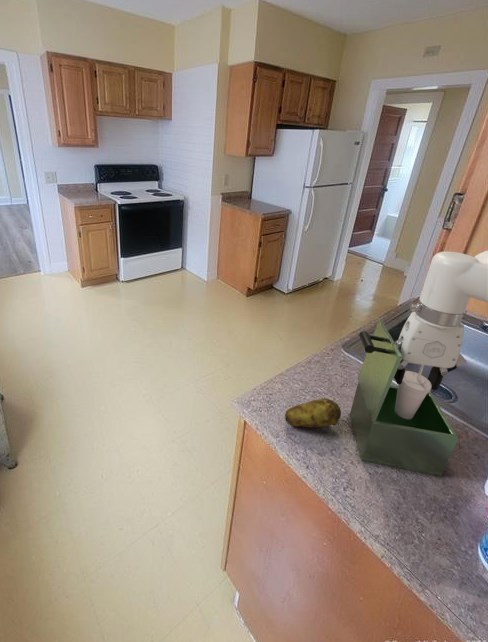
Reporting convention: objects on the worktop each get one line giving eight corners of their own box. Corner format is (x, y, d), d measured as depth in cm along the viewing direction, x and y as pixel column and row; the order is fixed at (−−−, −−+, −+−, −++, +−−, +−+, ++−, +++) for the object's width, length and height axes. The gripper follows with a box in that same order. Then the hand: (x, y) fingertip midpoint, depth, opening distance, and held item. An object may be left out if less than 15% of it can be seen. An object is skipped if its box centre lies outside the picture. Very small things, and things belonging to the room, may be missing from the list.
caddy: (417, 426, 83) (430, 391, 79) (441, 476, 71) (458, 438, 66) (349, 414, 86) (358, 380, 82) (361, 460, 74) (372, 422, 70)
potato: (287, 405, 89) (291, 382, 86) (337, 420, 84) (343, 397, 81) (282, 428, 82) (286, 404, 79) (336, 446, 77) (342, 422, 74)
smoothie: (426, 424, 72) (445, 374, 66) (397, 423, 72) (414, 374, 67) (409, 402, 78) (426, 355, 72) (383, 401, 78) (397, 354, 72)
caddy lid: (382, 320, 75) (357, 316, 76) (402, 356, 62) (373, 351, 63) (360, 379, 82) (338, 374, 83) (375, 421, 69) (349, 415, 70)
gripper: (397, 316, 63) (376, 388, 70) (499, 328, 60) (466, 402, 66) (386, 299, 70) (368, 365, 76) (476, 309, 66) (449, 377, 73)
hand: (414, 382), depth 71 cm, fingers closed on smoothie, 6 cm apart
